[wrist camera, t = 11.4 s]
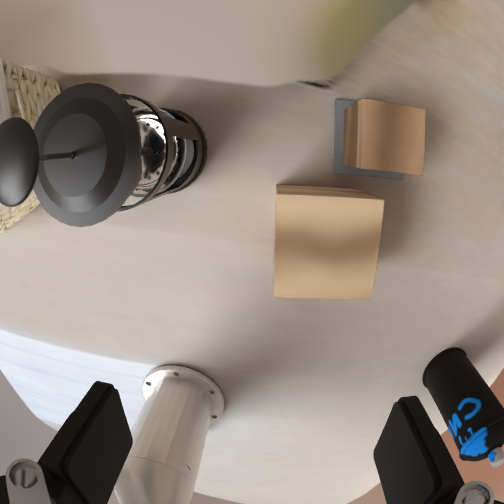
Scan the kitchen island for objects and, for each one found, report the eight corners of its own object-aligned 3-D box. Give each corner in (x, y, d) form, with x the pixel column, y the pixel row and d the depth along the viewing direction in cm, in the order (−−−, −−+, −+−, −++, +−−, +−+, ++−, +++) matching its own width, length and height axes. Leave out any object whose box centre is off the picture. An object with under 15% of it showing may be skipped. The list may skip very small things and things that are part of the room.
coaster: (401, 179, 31) (403, 179, 30) (333, 173, 31) (334, 173, 31) (403, 109, 28) (405, 109, 28) (334, 100, 29) (335, 99, 28)
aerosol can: (473, 347, 37) (537, 432, 18) (452, 387, 39) (500, 475, 20) (435, 346, 37) (498, 446, 18) (413, 389, 39) (457, 489, 20)
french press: (193, 92, 29) (62, 10, 8) (226, 170, 32) (129, 205, 10) (105, 141, 32) (-62, 152, 10) (135, 212, 34) (-16, 295, 12)
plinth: (352, 268, 34) (371, 298, 27) (273, 265, 35) (273, 297, 27) (359, 189, 31) (384, 200, 24) (276, 184, 32) (277, 194, 24)
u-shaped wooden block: (396, 116, 28) (425, 109, 22) (395, 170, 30) (423, 175, 23) (344, 109, 29) (362, 98, 22) (342, 165, 30) (360, 168, 24)
